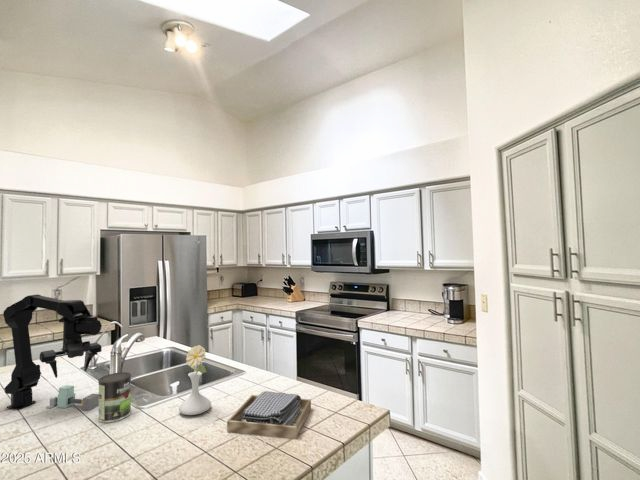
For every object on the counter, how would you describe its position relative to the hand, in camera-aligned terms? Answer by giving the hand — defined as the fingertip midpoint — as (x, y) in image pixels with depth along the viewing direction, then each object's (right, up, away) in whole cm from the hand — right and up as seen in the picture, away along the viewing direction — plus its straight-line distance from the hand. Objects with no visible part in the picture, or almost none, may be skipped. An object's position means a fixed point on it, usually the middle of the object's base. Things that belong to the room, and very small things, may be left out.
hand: (71, 374), depth 131 cm
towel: (+80, -12, -12) cm, 81 cm away
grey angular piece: (0, -13, +2) cm, 13 cm away
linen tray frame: (+79, -12, -11) cm, 81 cm away
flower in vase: (+50, -12, -4) cm, 52 cm away
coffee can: (+21, -13, -7) cm, 25 cm away
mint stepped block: (-4, -13, +2) cm, 14 cm away
